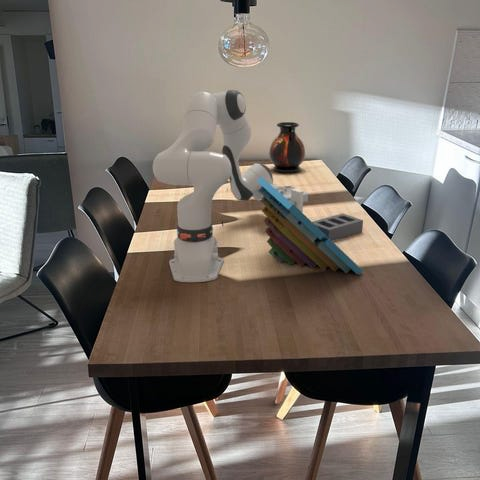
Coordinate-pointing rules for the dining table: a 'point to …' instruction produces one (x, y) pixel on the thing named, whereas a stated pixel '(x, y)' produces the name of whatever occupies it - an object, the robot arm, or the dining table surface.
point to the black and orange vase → (287, 149)
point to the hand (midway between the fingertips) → (298, 203)
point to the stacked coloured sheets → (298, 235)
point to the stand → (339, 226)
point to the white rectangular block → (297, 198)
